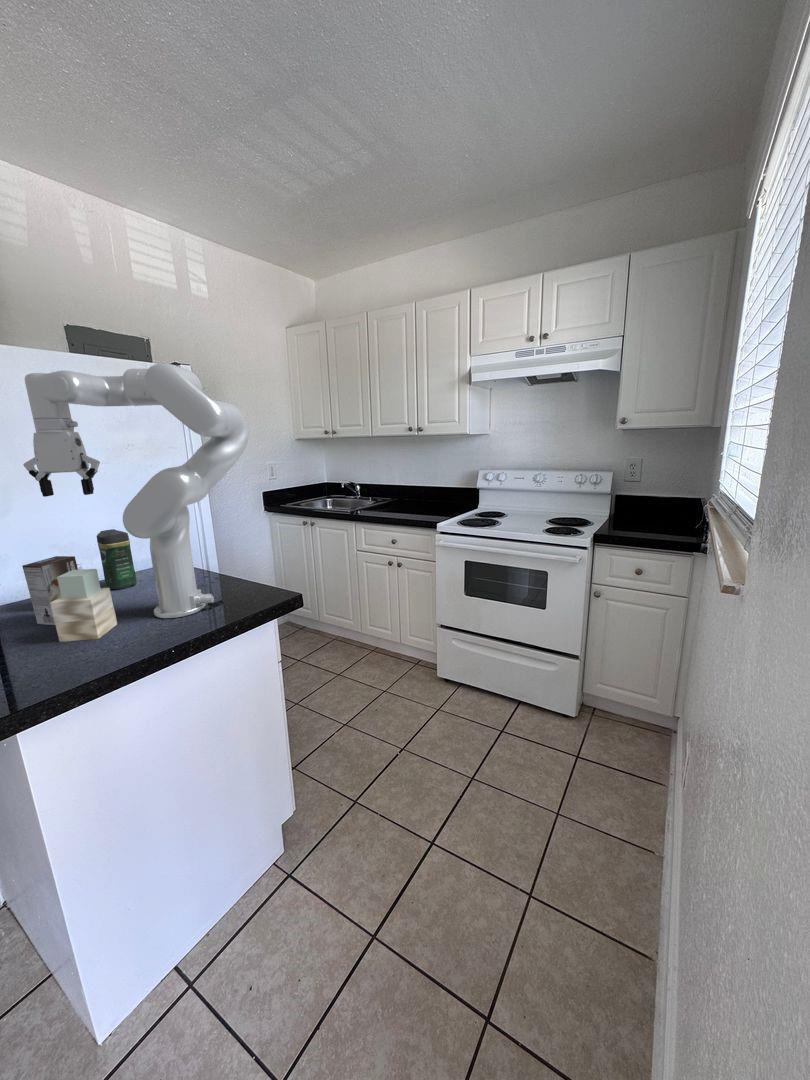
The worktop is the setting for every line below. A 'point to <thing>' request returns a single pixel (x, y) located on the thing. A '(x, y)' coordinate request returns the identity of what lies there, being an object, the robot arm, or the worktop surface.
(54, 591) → the coffee box
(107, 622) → the birch base block
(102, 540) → the coffee jar
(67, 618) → the maple top block
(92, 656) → the worktop surface
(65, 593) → the sage block
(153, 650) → the worktop surface
